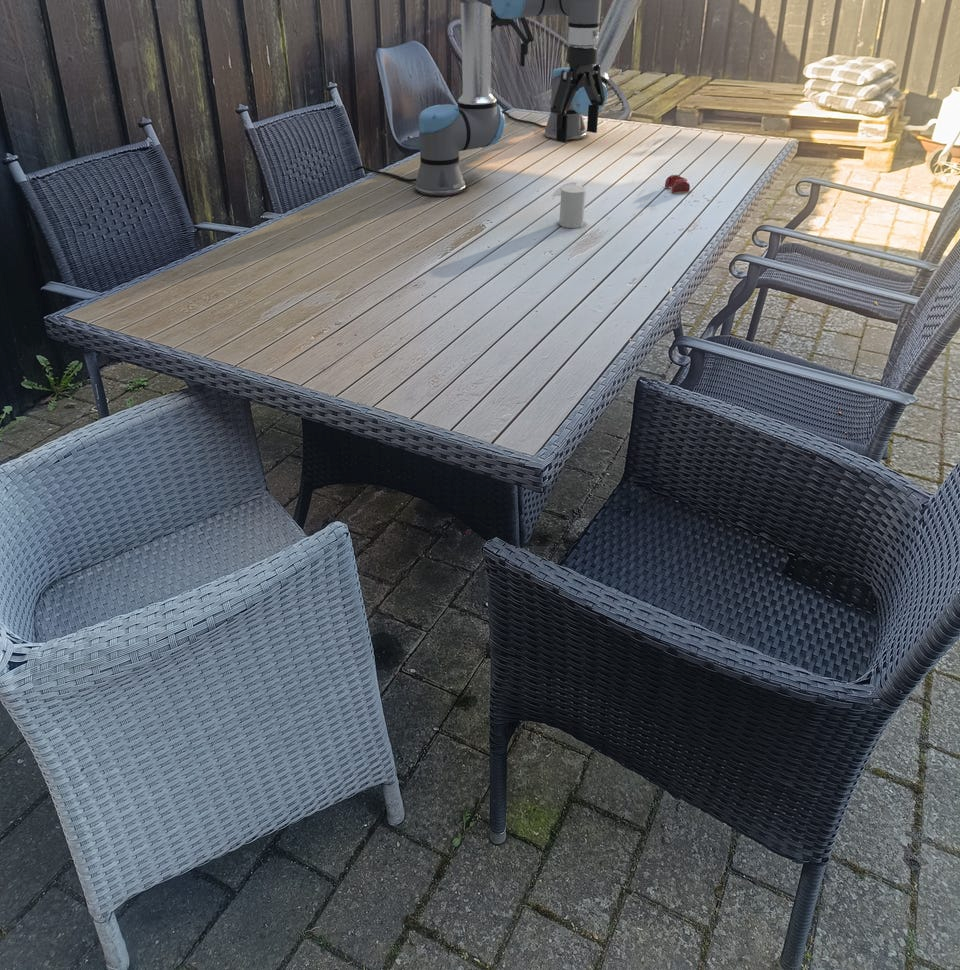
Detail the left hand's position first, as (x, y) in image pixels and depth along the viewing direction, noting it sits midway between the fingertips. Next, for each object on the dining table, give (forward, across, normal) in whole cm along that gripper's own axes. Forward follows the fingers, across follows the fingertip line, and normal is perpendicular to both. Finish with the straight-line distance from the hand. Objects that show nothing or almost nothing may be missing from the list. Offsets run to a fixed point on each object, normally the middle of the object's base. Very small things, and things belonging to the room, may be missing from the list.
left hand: (576, 136), depth 219 cm
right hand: (-4, +46, +64) cm, 79 cm away
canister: (+23, 0, 0) cm, 23 cm away
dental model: (+23, +47, -6) cm, 53 cm away
